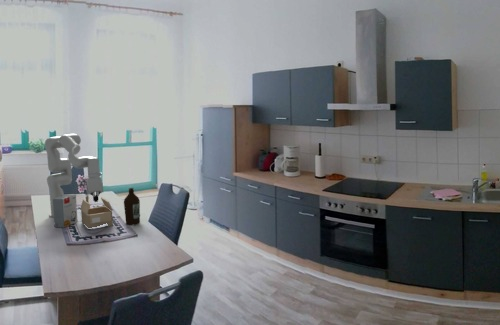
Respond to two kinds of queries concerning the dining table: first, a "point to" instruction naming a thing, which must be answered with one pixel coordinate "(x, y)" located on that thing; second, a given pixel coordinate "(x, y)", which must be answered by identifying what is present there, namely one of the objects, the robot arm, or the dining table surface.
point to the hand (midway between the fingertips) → (96, 201)
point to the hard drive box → (65, 210)
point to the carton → (97, 217)
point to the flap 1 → (85, 207)
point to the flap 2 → (106, 203)
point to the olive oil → (132, 208)
